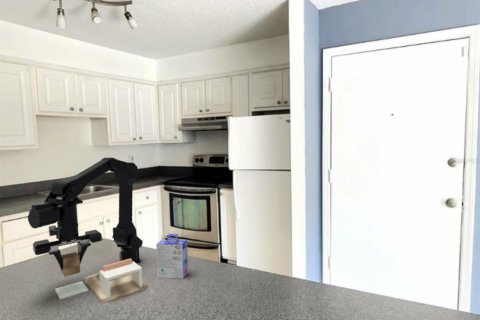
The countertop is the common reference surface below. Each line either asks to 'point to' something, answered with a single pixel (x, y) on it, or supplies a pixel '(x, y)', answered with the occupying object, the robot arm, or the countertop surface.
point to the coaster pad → (71, 290)
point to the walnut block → (70, 264)
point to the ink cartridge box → (172, 258)
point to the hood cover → (119, 274)
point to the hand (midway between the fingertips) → (70, 267)
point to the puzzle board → (113, 287)
